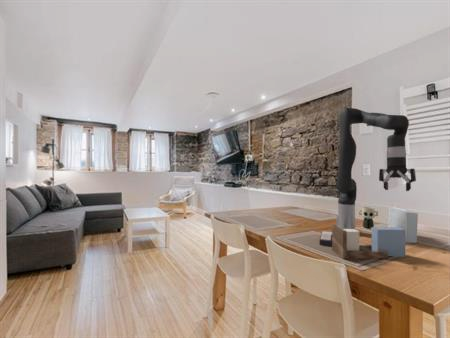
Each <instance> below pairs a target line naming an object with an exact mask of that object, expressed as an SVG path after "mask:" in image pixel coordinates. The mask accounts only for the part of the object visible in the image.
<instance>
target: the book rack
mask: <svg viewBox="0 0 450 338" xmlns="http://www.w3.org/2000/svg"><path fill="white" fill-rule="evenodd" d="M331 226H332V227H331V232H332V249H331V250H332V251H333V252H334V253H335V254H336V255H337V256H339V257H340V258H341V259H342V260H348V259H357V260H358V259H359V258H383V259H382V260H387V259H389V257H388V251H372V244H359V251H347V231H345V230H344V229H342V228H340V227H338V226H337V224H335V225H334V224H332V225H331ZM385 258H386V259H385ZM359 260H360V259H359Z"/></svg>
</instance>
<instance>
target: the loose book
mask: <svg viewBox="0 0 450 338" xmlns="http://www.w3.org/2000/svg"><path fill="white" fill-rule="evenodd" d="M371 245H372V251H388V256H393V257H392V258H405V257H406V242H405V230H404V229H402V228H399V227H388V226H374V227H372V228H371Z"/></svg>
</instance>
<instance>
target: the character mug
mask: <svg viewBox="0 0 450 338" xmlns="http://www.w3.org/2000/svg"><path fill="white" fill-rule="evenodd" d="M358 215H359V216H362V218H363V221H362V227H363V228H369V229H372V227H375V224H374V220H373V219H374V218H375V217H379V211H377V210H376V209H375V208H374V207H369V206H363V207H361V209H359V210H358Z"/></svg>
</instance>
